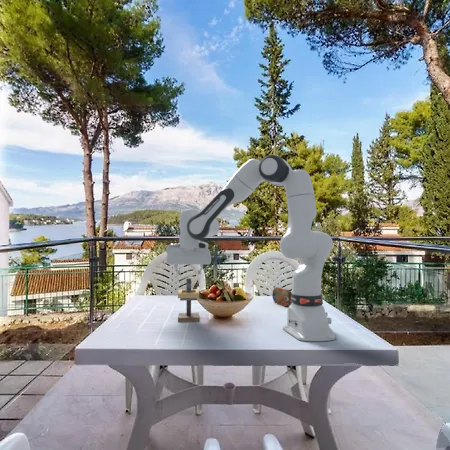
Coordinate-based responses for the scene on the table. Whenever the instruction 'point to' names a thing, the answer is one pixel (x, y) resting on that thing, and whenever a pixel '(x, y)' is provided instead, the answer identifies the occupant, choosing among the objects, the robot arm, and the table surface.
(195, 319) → the stand
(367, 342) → the table surface
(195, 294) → the tan rectangular frame
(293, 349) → the table surface
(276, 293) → the tin
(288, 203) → the robot arm
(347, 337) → the table surface
